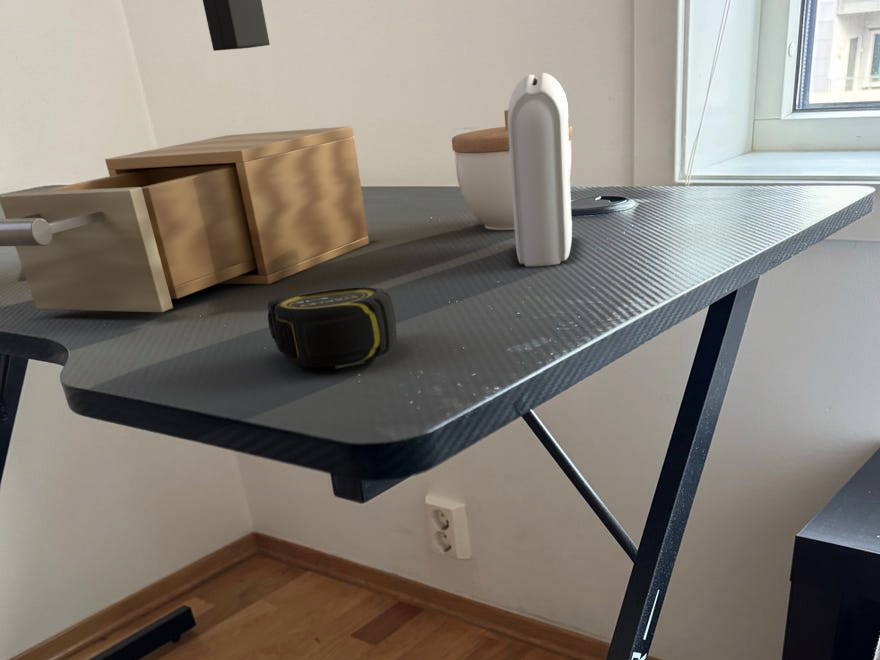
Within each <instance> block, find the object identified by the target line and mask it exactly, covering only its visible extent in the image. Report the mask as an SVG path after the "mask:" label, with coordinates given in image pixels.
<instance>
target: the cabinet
mask: <svg viewBox="0 0 880 660" xmlns="http://www.w3.org/2000/svg"><path fill="white" fill-rule="evenodd" d="M104 162H105V165H106V169H107V171H108V175H109V176H113V175H118V174H123V173H127V172H132V171H137V170H141V169H146V168H161V167H178V166H195V165H213V164H230V163H236V168H237V173H238V177H239V182H240V187H241V192H242V196H243V201H244V206H245V211H246V215H247V220H248V225H249V230H250V234H251V239H252V244H253V249H254V253H255V258H256V263H257V269H255V270H252V271H249V272H247V273H244V274H241V275H239V276H236V277H234V278H231V279H228V280H226V281H223V282H220V283H218V284H219V285H221V284H223V285H224V284H227V285H228V284H231V285H233V284H234V285H269V284H272V283H275V282H277V281H280V280H282V279H284V278H287V277H290V276H292V275H294V274H296V273H299V272H302V271H305V270H307V269H309V268H311V267H314V266H316V265H320V264H321V263H325V262H327V261H329V260H331V259H333V258H334V259H335V258H336V257H338V256H341V255H343V254H347V253H349V252H351V251H354V250H356V249H359V248H360V247H363V246H366V245H368V244H370V239H369V230H368V225H367V224H368V223H367V218H366V217H367V216H366V211H365V204H364V197H363V189H362V182H361V176H360V170H359V164H358V163H359V162H358V156H357V149H356V143H355V135H354V128H353V126H352V125H349V126H336V127H323V128H322V127H321V128H309V129H307V128H306V129H296V130H295V129H294V130H282V131H281V130H280V131H267V132H253V133H240V134H238V133H237V134H227V135H221V136H217V137H212V138H207V139H201V140H196V141H190V142H186V143H181V144H175V145H170V146H166V147H165V146H164V147H160V148H155V149H150V150H145V151H140V152H134V153H129V154H123V155H119V156H114V157H108V158H105V159H104Z"/></svg>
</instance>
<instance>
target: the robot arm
mask: <svg viewBox="0 0 880 660" xmlns="http://www.w3.org/2000/svg"><path fill="white" fill-rule="evenodd" d="M202 4H203V9H204V13H205V17H206V23H207V27H208V32H209V36H210V41H211V44H212V49H213V51H214V52H216V51H228V50H240V49H241V50H242V49H250V48H258V47H264V46H265V47H266V46H270V45H271V43H270V38H269V34H268V28H267V23H266V17H265V12H264V7H263V1H262V0H202Z"/></svg>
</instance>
